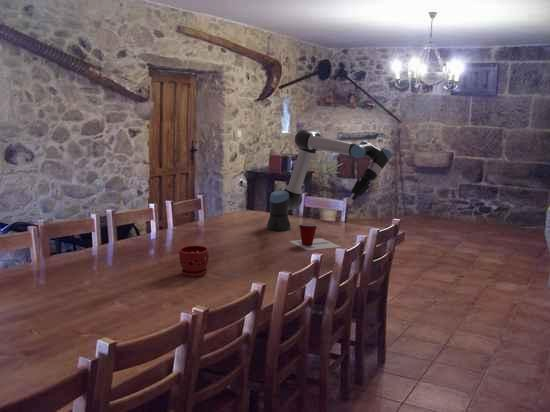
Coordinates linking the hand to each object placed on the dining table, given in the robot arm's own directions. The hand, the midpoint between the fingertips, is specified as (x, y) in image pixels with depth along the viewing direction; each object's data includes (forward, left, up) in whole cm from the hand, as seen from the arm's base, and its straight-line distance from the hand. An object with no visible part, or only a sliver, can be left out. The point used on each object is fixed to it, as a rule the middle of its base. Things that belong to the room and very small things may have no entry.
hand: (348, 203), depth 332 cm
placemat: (+2, -23, -22) cm, 32 cm away
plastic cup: (+2, -27, -22) cm, 35 cm away
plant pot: (+35, -105, -22) cm, 113 cm away
